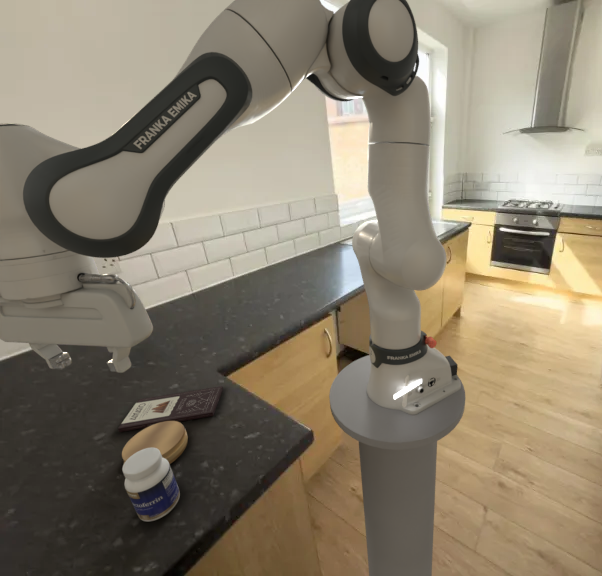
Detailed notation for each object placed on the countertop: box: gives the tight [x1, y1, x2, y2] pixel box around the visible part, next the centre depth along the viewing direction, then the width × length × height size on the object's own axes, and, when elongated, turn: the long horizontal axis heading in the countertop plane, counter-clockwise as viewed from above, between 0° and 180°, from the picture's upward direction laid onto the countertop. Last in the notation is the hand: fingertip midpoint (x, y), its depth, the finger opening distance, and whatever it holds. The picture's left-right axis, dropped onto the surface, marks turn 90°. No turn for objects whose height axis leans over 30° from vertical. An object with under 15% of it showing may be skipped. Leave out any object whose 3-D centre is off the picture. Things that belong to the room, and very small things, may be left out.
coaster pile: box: [121, 421, 189, 465], centre depth 60 cm, size 10×10×3 cm
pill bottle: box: [121, 448, 181, 522], centre depth 49 cm, size 6×6×10 cm
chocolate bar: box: [117, 385, 224, 433], centre depth 71 cm, size 9×1×18 cm
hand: (91, 368), depth 44 cm, fingers open, 8 cm apart
